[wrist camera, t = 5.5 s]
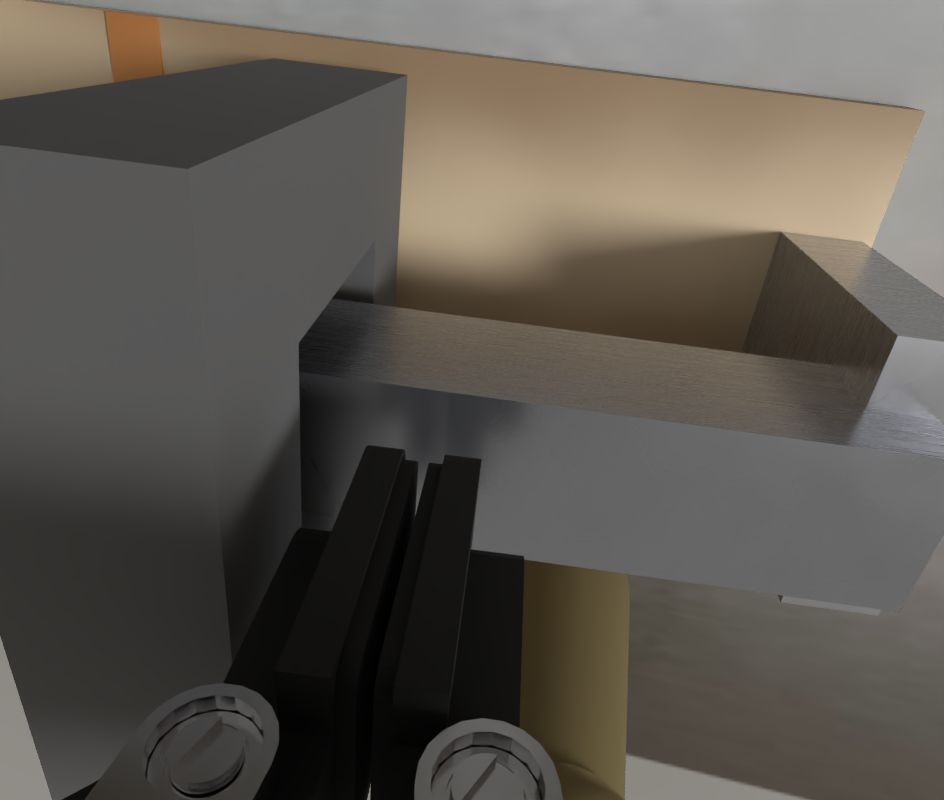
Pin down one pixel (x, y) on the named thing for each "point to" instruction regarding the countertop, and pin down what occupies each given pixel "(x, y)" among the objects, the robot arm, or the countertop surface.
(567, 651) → the cork
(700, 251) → the board
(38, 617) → the slotted grey block
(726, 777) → the countertop surface
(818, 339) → the grey blocky piece
